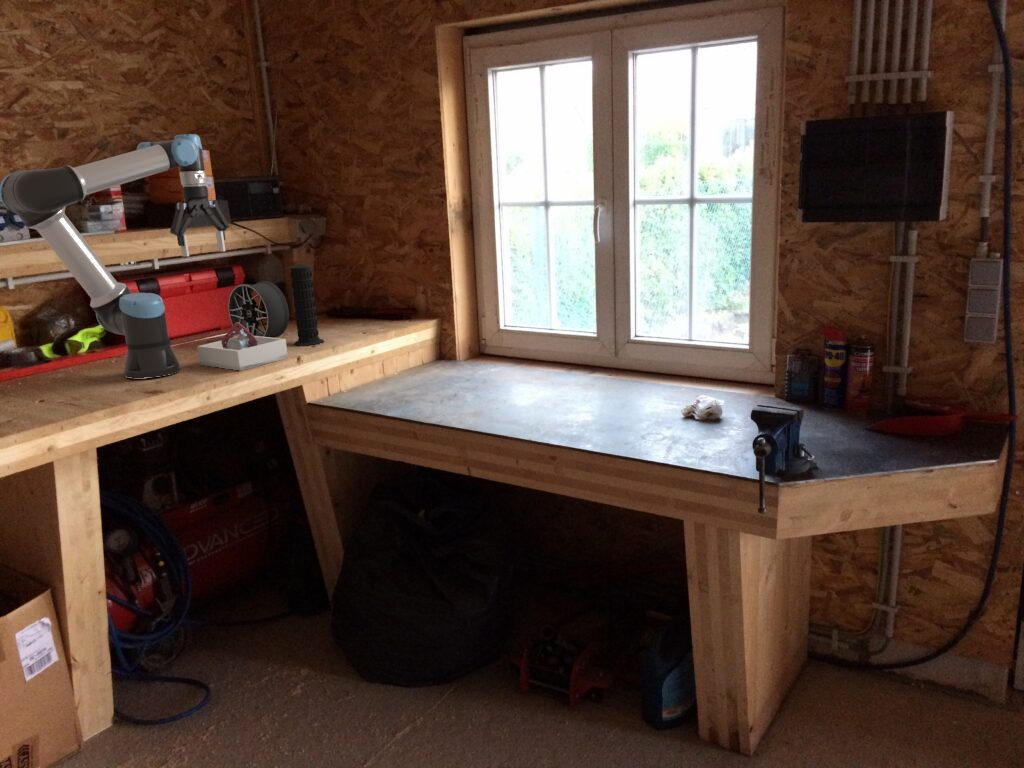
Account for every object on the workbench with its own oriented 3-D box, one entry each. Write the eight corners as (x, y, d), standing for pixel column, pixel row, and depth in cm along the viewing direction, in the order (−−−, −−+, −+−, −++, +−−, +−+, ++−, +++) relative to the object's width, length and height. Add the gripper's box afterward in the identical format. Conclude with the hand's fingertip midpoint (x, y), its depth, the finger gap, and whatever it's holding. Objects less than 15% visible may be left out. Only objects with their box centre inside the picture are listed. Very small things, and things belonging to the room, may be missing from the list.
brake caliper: (266, 344, 268) (253, 318, 258) (259, 372, 261) (245, 346, 252) (231, 346, 269) (217, 320, 260) (223, 373, 262) (208, 348, 253)
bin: (240, 371, 250) (237, 351, 249) (200, 365, 261) (197, 346, 259) (287, 358, 264) (285, 339, 263) (247, 353, 275) (245, 334, 274)
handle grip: (319, 345, 281) (328, 339, 290) (310, 264, 274) (319, 261, 284) (289, 346, 282) (299, 340, 291) (279, 266, 275) (290, 262, 285)
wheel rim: (232, 340, 297) (224, 283, 292) (253, 335, 305) (246, 279, 300) (271, 345, 286) (264, 285, 281) (292, 339, 294) (285, 281, 289)
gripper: (166, 187, 256) (177, 258, 262) (234, 183, 276) (243, 249, 281) (151, 188, 261) (162, 258, 266) (220, 183, 280) (228, 249, 286)
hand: (204, 253), depth 274 cm, fingers open, 13 cm apart
